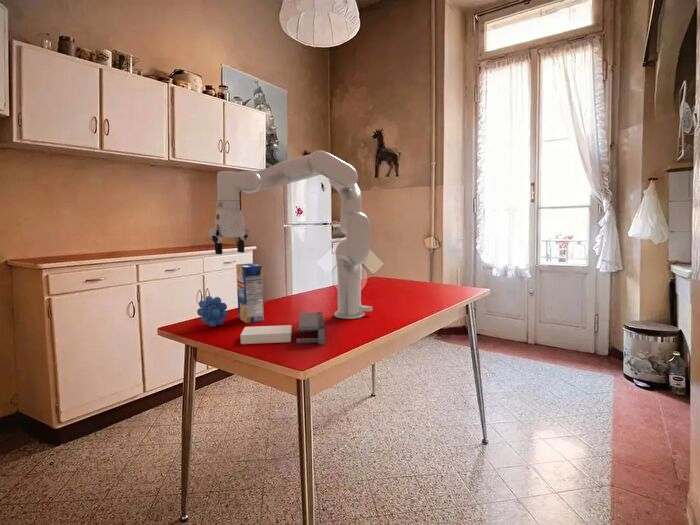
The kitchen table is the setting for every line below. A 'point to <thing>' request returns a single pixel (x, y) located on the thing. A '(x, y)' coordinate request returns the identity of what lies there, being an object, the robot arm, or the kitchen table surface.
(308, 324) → the overhang bracket
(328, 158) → the robot arm
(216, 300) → the grapes
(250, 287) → the beverage box
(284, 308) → the kitchen table surface
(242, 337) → the white thin flat slab
